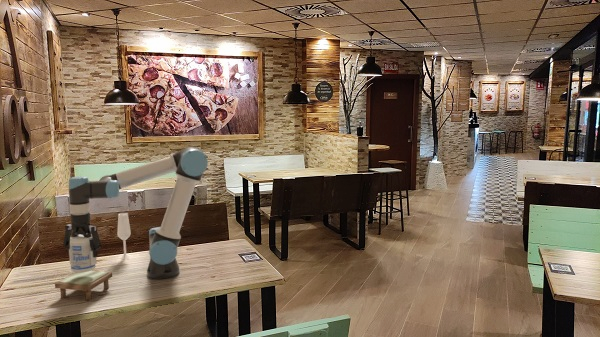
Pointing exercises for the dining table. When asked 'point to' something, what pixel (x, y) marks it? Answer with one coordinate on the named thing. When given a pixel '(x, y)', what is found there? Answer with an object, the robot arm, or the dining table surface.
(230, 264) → the dining table surface
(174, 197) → the robot arm
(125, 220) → the champagne flute
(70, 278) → the small wooden table
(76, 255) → the supplement tub
